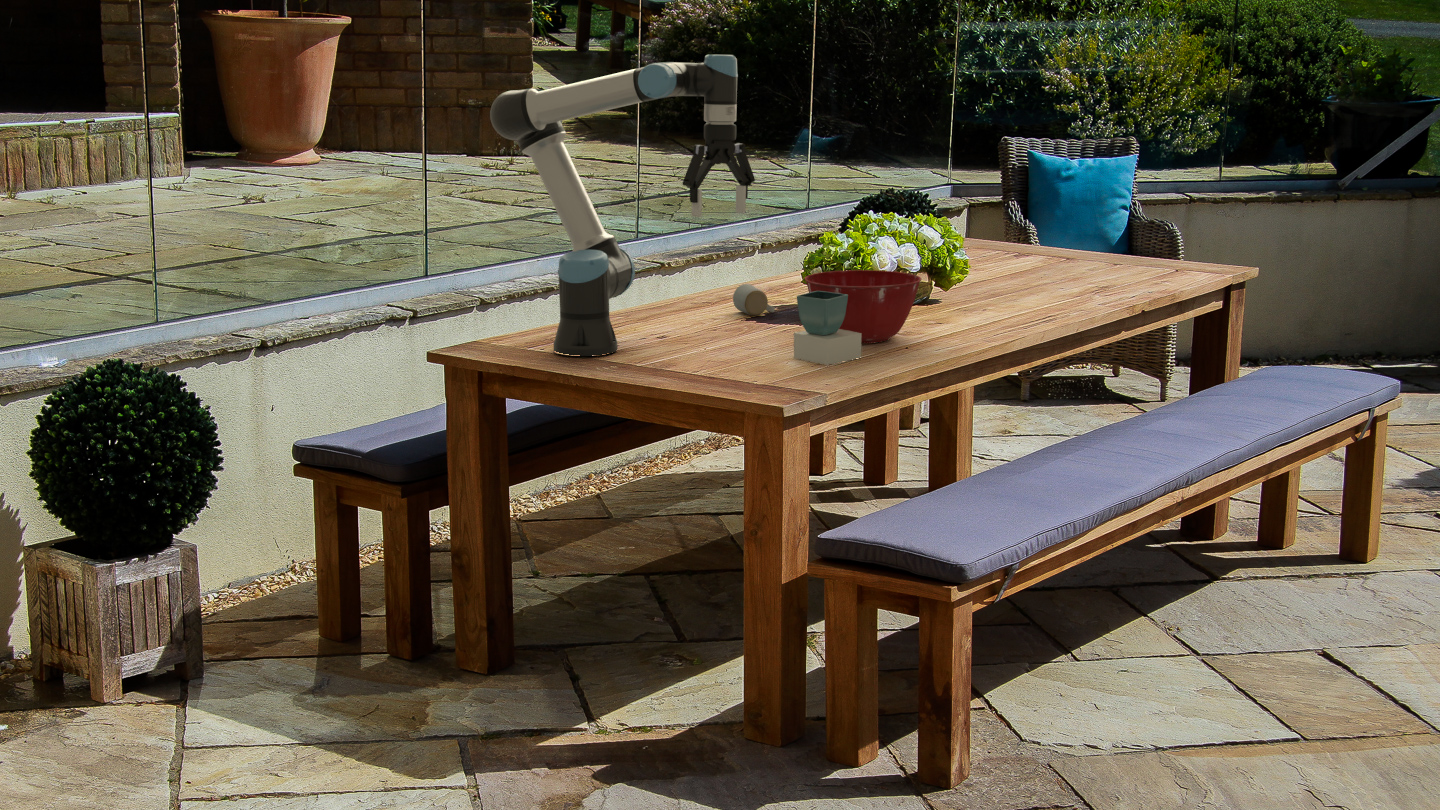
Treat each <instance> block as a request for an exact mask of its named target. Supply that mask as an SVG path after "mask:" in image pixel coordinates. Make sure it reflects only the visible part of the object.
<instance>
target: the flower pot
mask: <svg viewBox="0 0 1440 810" xmlns="http://www.w3.org/2000/svg"><path fill="white" fill-rule="evenodd" d="M847 300H848V295H847V294H840V293H832V292H825V291H814V292H810V293H809V292H806V293H802V294H798V295H796V303H797V310H798V316H799V321H800V323H801V325H802V327H803V328H804V331H807V333H810V334H818V335H823V336H825V335H828V334H831V333H835V332H837V331H838V329H839V328H840V326H841V324H842V323H843V320H844V317H845V313H846V307H847Z"/></svg>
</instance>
